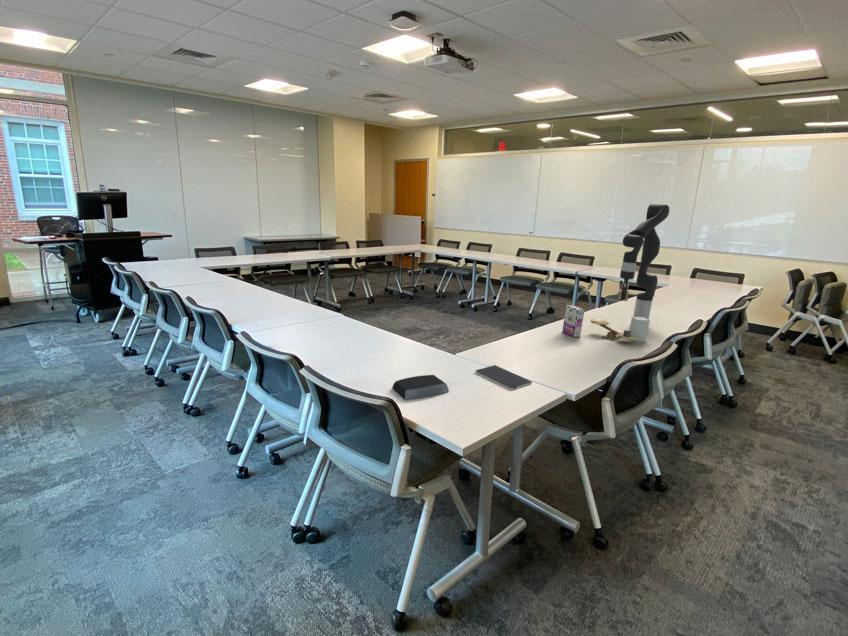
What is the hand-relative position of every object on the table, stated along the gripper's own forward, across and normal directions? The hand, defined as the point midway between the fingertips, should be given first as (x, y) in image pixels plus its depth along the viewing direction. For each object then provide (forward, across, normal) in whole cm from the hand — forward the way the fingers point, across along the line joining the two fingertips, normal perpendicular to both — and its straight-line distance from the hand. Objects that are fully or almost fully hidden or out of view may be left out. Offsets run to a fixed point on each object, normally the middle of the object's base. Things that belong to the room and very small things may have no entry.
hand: (623, 298), depth 263 cm
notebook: (+21, +106, -37) cm, 114 cm away
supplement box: (+21, +7, +11) cm, 25 cm away
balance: (+21, +13, -2) cm, 25 cm away
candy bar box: (+21, +21, -23) cm, 38 cm away
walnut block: (0, 0, 0) cm, 0 cm away
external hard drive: (+21, +137, -61) cm, 151 cm away
